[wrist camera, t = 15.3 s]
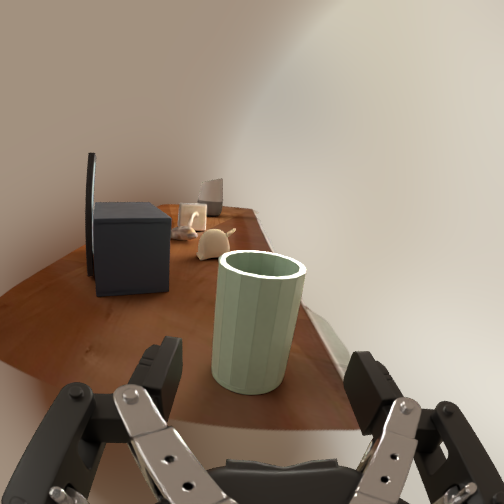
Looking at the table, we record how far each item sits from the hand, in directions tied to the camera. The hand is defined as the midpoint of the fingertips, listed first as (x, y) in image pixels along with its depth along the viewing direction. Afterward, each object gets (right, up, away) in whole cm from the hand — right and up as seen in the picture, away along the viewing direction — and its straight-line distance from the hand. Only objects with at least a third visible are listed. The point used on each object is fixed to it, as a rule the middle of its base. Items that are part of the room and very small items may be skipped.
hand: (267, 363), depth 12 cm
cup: (-1, -5, +11) cm, 12 cm away
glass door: (-28, +4, +31) cm, 42 cm away
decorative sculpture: (-18, +9, +57) cm, 61 cm away
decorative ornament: (-8, +4, +43) cm, 44 cm away
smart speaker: (-17, +18, +91) cm, 95 cm away
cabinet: (-20, +2, +29) cm, 35 cm away
